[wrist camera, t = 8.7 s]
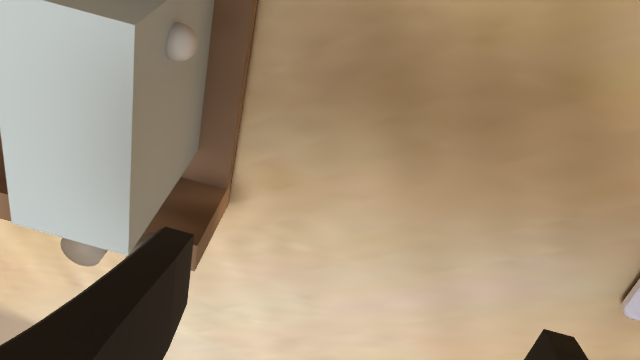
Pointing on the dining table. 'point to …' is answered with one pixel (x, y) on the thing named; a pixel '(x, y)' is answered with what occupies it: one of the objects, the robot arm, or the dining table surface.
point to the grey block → (99, 111)
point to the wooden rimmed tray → (214, 143)
